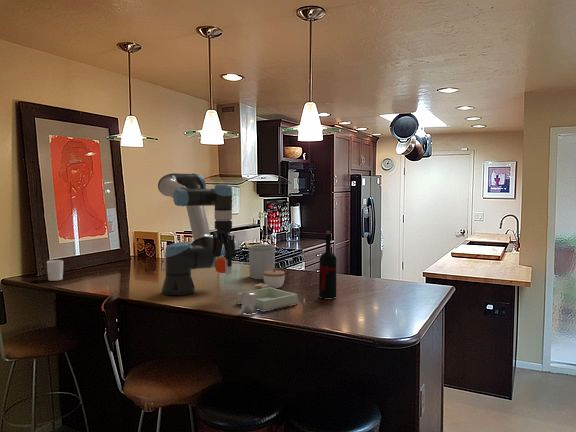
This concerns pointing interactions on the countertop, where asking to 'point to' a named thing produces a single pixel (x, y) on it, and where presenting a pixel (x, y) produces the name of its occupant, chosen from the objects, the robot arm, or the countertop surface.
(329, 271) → the wine bottle
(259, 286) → the wood block
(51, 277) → the white cup
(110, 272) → the countertop surface
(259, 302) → the sage tray
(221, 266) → the clementine
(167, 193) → the robot arm
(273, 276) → the lidded jar
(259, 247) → the utensil holder
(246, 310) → the metal can
